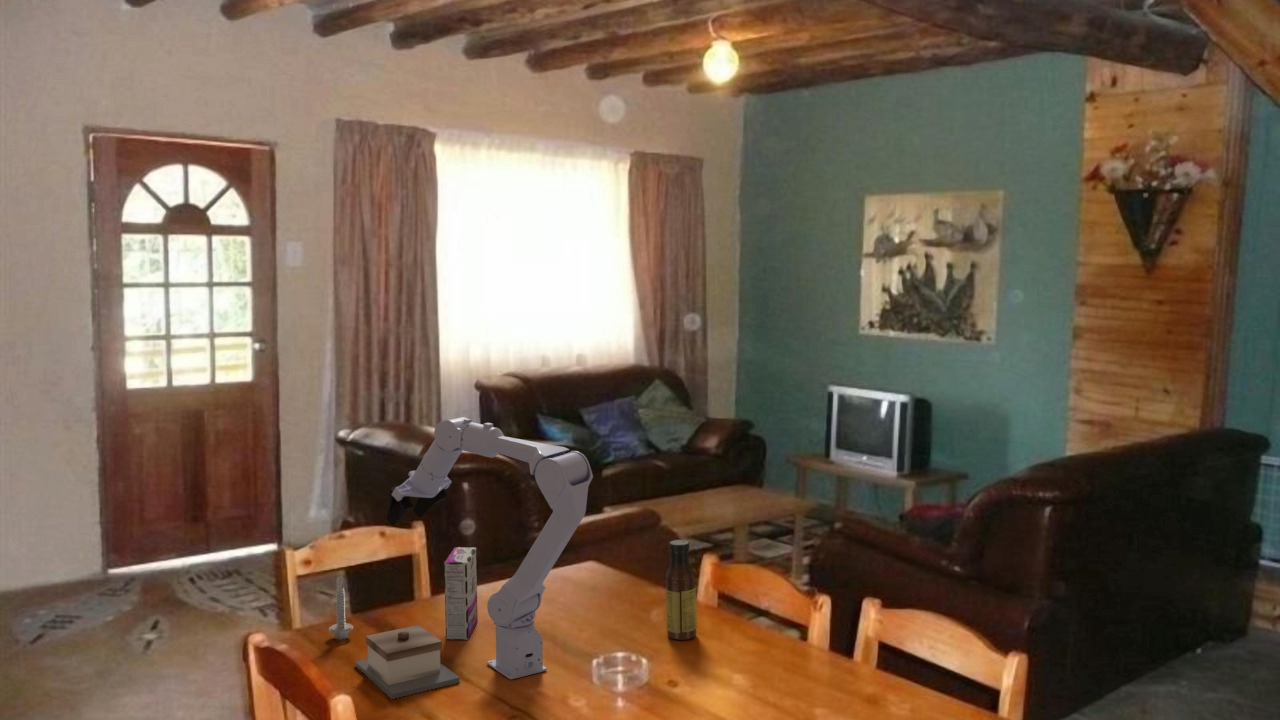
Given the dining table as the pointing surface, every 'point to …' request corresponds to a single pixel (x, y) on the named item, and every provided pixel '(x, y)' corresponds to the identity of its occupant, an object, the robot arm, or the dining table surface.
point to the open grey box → (404, 666)
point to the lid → (403, 643)
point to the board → (410, 681)
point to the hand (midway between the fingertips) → (404, 517)
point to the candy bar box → (460, 593)
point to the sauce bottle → (680, 593)
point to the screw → (340, 614)
